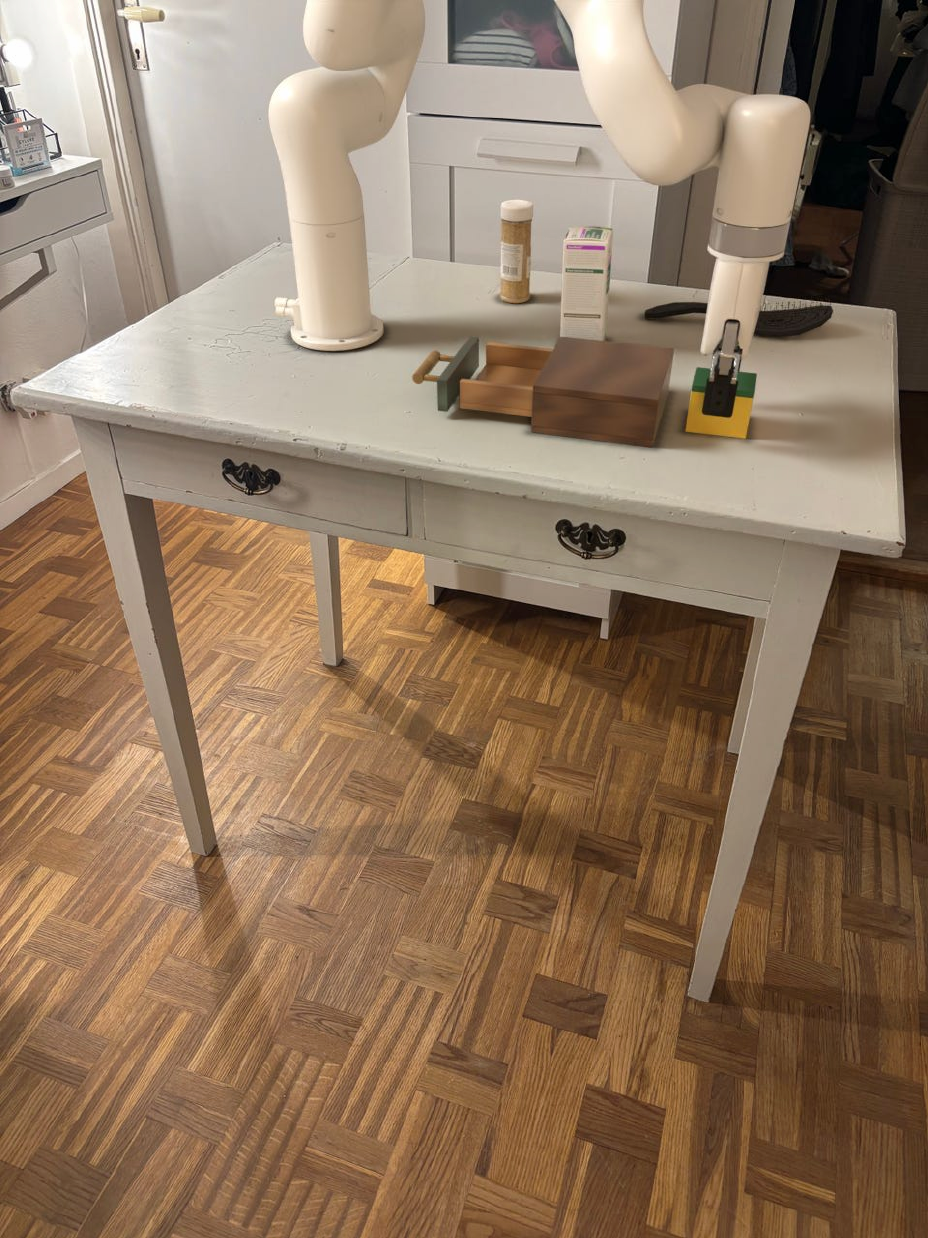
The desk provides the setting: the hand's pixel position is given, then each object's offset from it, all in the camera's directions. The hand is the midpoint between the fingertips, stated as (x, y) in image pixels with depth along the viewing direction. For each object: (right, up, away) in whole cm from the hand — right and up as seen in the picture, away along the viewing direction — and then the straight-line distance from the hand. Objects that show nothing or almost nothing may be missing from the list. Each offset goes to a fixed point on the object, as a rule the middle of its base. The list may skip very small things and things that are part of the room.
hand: (720, 396), depth 105 cm
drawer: (-26, +2, +8) cm, 27 cm away
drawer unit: (-12, -1, +5) cm, 13 cm away
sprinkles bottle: (-21, +23, +35) cm, 47 cm away
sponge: (0, -3, +2) cm, 4 cm away
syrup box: (-13, +12, +21) cm, 27 cm away
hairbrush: (+9, +16, +26) cm, 32 cm away
